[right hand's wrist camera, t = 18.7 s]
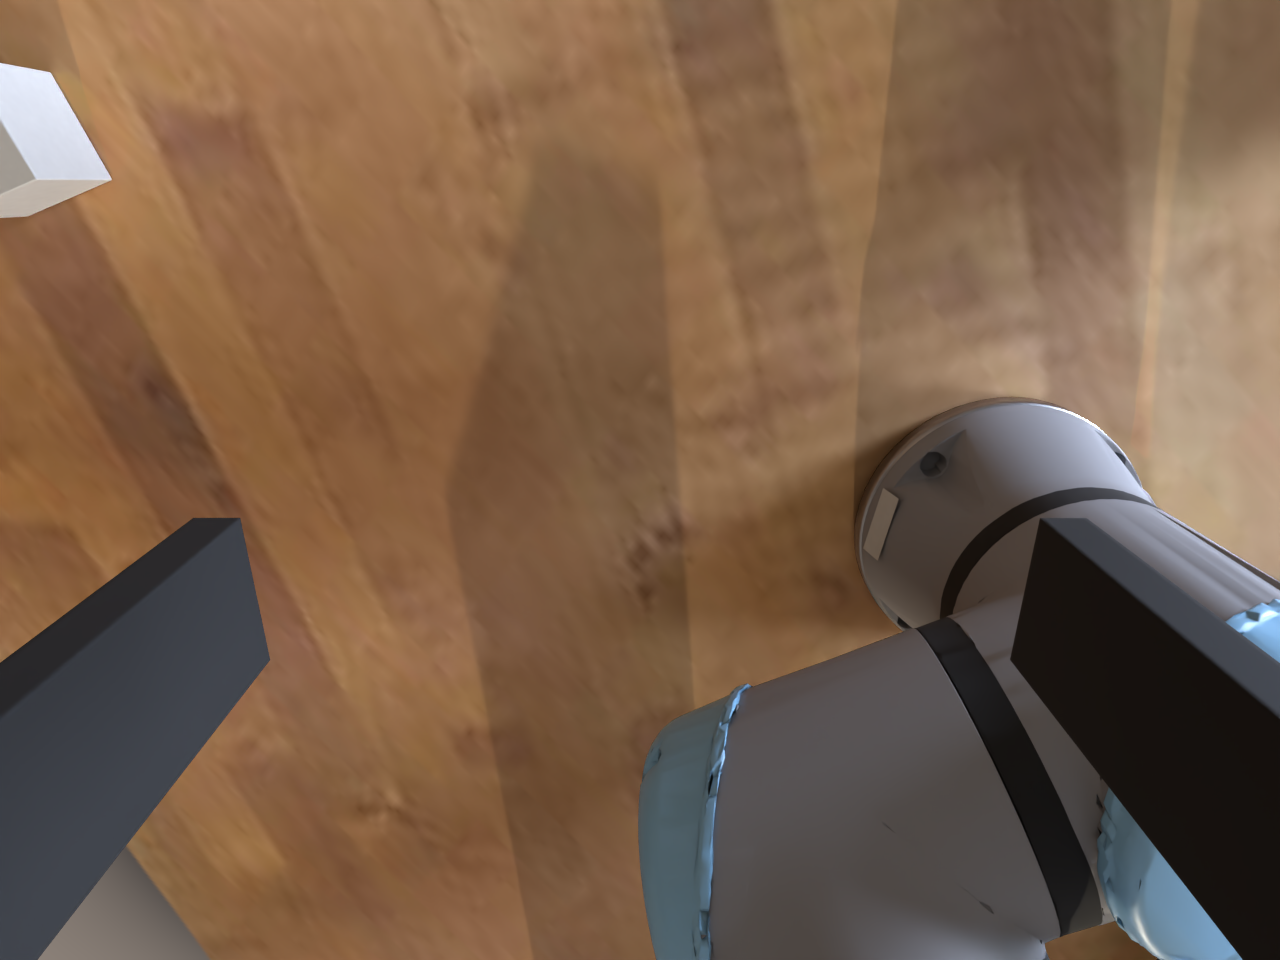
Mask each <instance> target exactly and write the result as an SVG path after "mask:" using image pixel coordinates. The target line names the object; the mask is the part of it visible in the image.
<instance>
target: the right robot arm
mask: <svg viewBox="0 0 1280 960" xmlns="http://www.w3.org/2000/svg"><path fill="white" fill-rule="evenodd" d="M854 542H855V553H856V559H857V563H858V566H859V570H860V573H861V575H862V577H863V580H864V582H865V584H866V585H867V587H868V589H869V591H870V593H871V594H872V596H873V598H874V600H875V601H876V603H877V604H878V605H879V607H880V608H881V610H882V611H883V612H884V613H885V614H886V615H887V616H888V617H889V618H890V620H891V621H892V622H893V623H894V624H895V625H896V626H897V627H898V628H900V629H901V630H902V631H903V632H901V633H899V634H896V635H893V636H891V637H888V638H885V639H883V640H880V641H878V642H875V643H872V644H870V645H867V646H864V647H862V648H859V649H856V650H854V651H851V652H848V653H846V654H843V655H840V656H838V657H835V658H833V659H830V660H827V661H824V662H821V663H819V664H816V665H813V666H810V667H807V668H804V669H802V670H799V671H796V672H793V673H790V674H788V675H785V676H782V677H779V678H776V679H774V680H771V681H768V682H765V683H762V684H759V685H757V686H754V687H753V686H751V685H749V684H744V685H741V686H738V687H736V688H735V689H734V690H733V691H732V692H731V693H730V695H729V696H726V697H724V698H722V699H719V700H717V701H715V702H712V703H710V704H708V705H705V706H703V707H701V708H698V709H696V710H694V711H691V712H689V713H687V714H684V715H682V716H680V717H678V718H676V719H674V720H673V721H671V722H670V723H669V724H667V725H666V726H665V727H664V728H663V729H662V730H661V731H660V733H659V734H658V735H657V737H656V739H655V740H654V742H653V743H652V745H651V747H650V750H649V753H648V755H647V758H646V761H645V765H644V771H643V778H642V783H641V786H640V795H639V814H638V838H639V856H640V868H641V878H642V886H643V894H644V901H645V907H646V913H647V919H648V924H649V929H650V934H651V939H652V944H653V948H654V952H655V956H656V960H1050V959H1049V957H1048V955H1047V953H1046V949H1045V943H1046V942H1048V941H1051V940H1053V939H1056V938H1058V937H1062V936H1063V935H1067V934H1070V933H1073V932H1077V931H1080V930H1084V929H1087V928H1091V927H1094V926H1097V925H1099V926H1100V925H1103V924H1106V923H1109V922H1113V921H1116V923H1117V924H1118V926H1119V927H1120V928H1121V929H1123V930H1124V931H1125V932H1127V934H1128V936H1129V937H1130V939H1131V940H1133V941H1135V942H1137V943H1139V944H1140V946H1143V947H1144V948H1145V949H1146V950H1148V951H1149V952H1150V953H1151V954H1152V955H1154V956H1155V957H1157V958H1158V959H1160V960H1280V582H1279V581H1277V580H1276V579H1274V578H1272V577H1271V576H1269V575H1267V574H1266V573H1264V572H1262V571H1261V570H1259V569H1257V568H1256V567H1254V566H1252V565H1251V564H1249V563H1248V562H1246V561H1244V560H1243V559H1241V558H1239V557H1238V556H1236V555H1234V554H1233V553H1231V552H1230V551H1228V550H1226V549H1225V548H1223V547H1221V546H1220V545H1218V544H1217V543H1215V542H1213V541H1212V540H1210V539H1208V538H1207V537H1205V536H1204V535H1202V534H1200V533H1199V532H1197V531H1196V530H1194V529H1192V528H1191V527H1189V526H1187V525H1186V524H1184V523H1183V522H1181V521H1179V520H1178V519H1176V518H1174V517H1173V516H1171V515H1169V514H1167V513H1166V512H1164V511H1163V510H1161V509H1159V508H1158V507H1156V505H1155V503H1154V502H1153V500H1152V498H1151V497H1150V496H1149V494H1148V493H1147V492H1146V491H1145V490H1143V489H1142V486H1141V483H1140V480H1139V478H1138V476H1137V473H1136V471H1135V469H1134V468H1133V466H1132V464H1131V462H1130V461H1129V459H1128V458H1127V456H1126V455H1125V453H1124V452H1123V451H1122V450H1121V449H1120V447H1119V446H1118V445H1117V444H1116V443H1115V442H1114V441H1113V440H1112V439H1111V438H1110V437H1108V436H1107V435H1106V434H1105V433H1104V432H1103V431H1102V430H1100V429H1099V428H1098V427H1097V426H1095V425H1094V424H1092V423H1091V422H1089V421H1088V420H1086V419H1084V418H1082V417H1080V416H1079V415H1077V414H1075V413H1073V412H1071V411H1069V410H1067V409H1065V408H1063V407H1060V406H1058V405H1055V404H1052V403H1049V402H1045V401H1041V400H1036V399H1030V398H1019V397H1003V398H992V399H985V400H980V401H976V402H971V403H968V404H965V405H961V406H958V407H955V408H953V409H951V410H948V411H946V412H944V413H941V414H940V415H938V416H936V417H934V418H932V419H930V420H928V421H927V422H925V423H924V424H922V425H921V426H919V427H918V428H916V429H915V430H914V431H912V432H911V433H910V434H908V435H907V436H906V437H905V438H904V439H903V440H901V441H900V442H899V443H898V444H897V445H896V446H895V447H894V448H893V449H892V450H891V451H890V453H889V454H888V455H887V456H886V457H885V458H884V460H883V461H882V462H881V464H880V465H879V466H878V468H877V469H876V471H875V472H874V474H873V476H872V477H871V479H870V481H869V483H868V485H867V487H866V489H865V491H864V494H863V496H862V499H861V501H860V505H859V508H858V512H857V517H856V523H855V534H854ZM269 661H270V657H269V652H268V648H267V643H266V638H265V633H264V629H263V624H262V619H261V615H260V610H259V605H258V600H257V596H256V591H255V586H254V581H253V577H252V572H251V567H250V563H249V558H248V553H247V548H246V544H245V539H244V534H243V529H242V525H241V520H240V518H193V519H191V520H190V521H189V522H187V523H186V524H185V525H183V526H182V527H181V528H179V529H178V530H177V531H175V532H174V533H173V534H171V535H170V536H169V537H167V538H166V539H165V540H163V541H162V542H161V543H159V544H158V545H157V546H155V547H154V548H153V549H151V550H150V551H149V552H147V553H146V554H145V555H143V556H142V557H141V558H139V559H138V560H137V561H135V562H134V563H133V564H131V565H130V566H129V567H127V568H126V569H125V570H123V571H122V572H121V573H119V574H118V575H117V576H115V577H114V578H113V579H111V580H110V581H109V582H107V583H106V584H105V585H103V586H102V587H101V588H99V589H98V590H97V591H95V592H94V593H93V594H91V595H90V596H89V597H87V598H86V599H85V600H83V601H82V602H81V603H79V604H78V605H77V606H75V607H74V608H73V609H71V610H70V611H69V612H67V613H66V614H65V615H63V616H62V617H61V618H59V619H58V620H57V621H55V622H54V623H53V624H51V625H50V626H49V627H47V628H46V629H45V630H43V631H42V632H41V633H39V634H38V635H37V636H35V637H34V638H33V639H31V640H30V641H29V642H27V643H26V644H25V645H23V646H22V647H21V648H19V649H18V650H17V651H15V652H14V653H13V654H11V655H10V656H9V657H7V658H6V659H5V660H3V661H2V662H1V663H0V960H38V958H39V957H40V956H41V954H42V953H43V952H44V951H45V949H46V948H47V947H48V945H49V944H50V943H51V942H52V940H53V939H54V938H55V936H56V935H57V934H58V933H59V931H60V930H61V929H62V927H63V926H64V925H65V923H66V922H67V921H68V920H69V918H70V917H71V916H72V914H73V913H74V912H75V911H76V909H77V908H78V907H79V905H80V904H81V903H82V902H83V900H84V899H85V898H86V896H87V895H88V894H89V893H90V891H91V890H92V889H93V887H94V886H95V885H96V884H97V882H98V881H99V880H100V878H101V877H102V876H103V874H104V873H105V872H106V871H107V869H108V868H109V867H110V865H111V864H112V863H113V862H114V860H115V859H116V858H117V856H118V855H119V854H120V853H121V851H122V850H123V849H124V847H125V846H126V845H127V844H128V842H129V841H130V840H131V838H132V837H133V836H134V835H135V833H136V832H137V831H138V829H139V828H140V827H141V826H142V824H143V823H144V822H145V820H146V819H147V818H148V817H149V815H150V814H151V813H152V811H153V810H154V809H155V808H156V806H157V805H158V804H159V802H160V801H161V800H162V798H163V797H164V796H165V795H166V793H167V792H168V791H169V789H170V788H171V787H172V786H173V784H174V783H175V782H176V780H177V779H178V778H179V777H180V775H181V774H182V773H183V771H184V770H185V769H186V768H187V766H188V765H189V764H190V762H191V761H192V760H193V759H194V757H195V756H196V755H197V753H198V752H199V751H200V750H201V748H202V747H203V746H204V744H205V743H206V742H207V740H208V739H209V738H210V737H211V735H212V734H213V733H214V731H215V730H216V729H217V728H218V726H219V725H220V724H221V722H222V721H223V720H224V719H225V717H226V716H227V715H228V713H229V712H230V711H231V710H232V708H233V707H234V706H235V704H236V703H237V702H238V701H239V699H240V698H241V697H242V695H243V694H244V693H245V692H246V690H247V689H248V688H249V686H250V685H251V684H252V682H253V681H254V680H255V679H256V677H257V676H258V675H259V673H260V672H261V671H262V670H263V668H264V667H265V666H266V664H267V663H268V662H269Z"/></svg>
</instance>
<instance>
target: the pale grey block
mask: <svg viewBox="0 0 1280 960" xmlns="http://www.w3.org/2000/svg"><path fill="white" fill-rule="evenodd" d="M111 180H112V178H111V177H110V175H109V173H108V171H107V170H106V168H105V166H104V165H103V163H102V161H101V159H100V158H99V156H98V154H97V152H96V151H95V149H94V147H93V145H92V144H91V142H90V140H89V138H88V137H87V135H86V133H85V131H84V130H83V128H82V126H81V125H80V123H79V121H78V119H77V118H76V116H75V114H74V112H73V111H72V109H71V107H70V105H69V104H68V102H67V100H66V98H65V97H64V95H63V93H62V91H61V90H60V88H59V86H58V85H57V83H56V81H55V79H54V78H53V76H52V74H51V73H50V72H46V71H41V70H36V69H30V68H25V67H20V66H14V65H9V64H4V63H0V218H7V217H26V216H30V215H32V214H34V213H37V212H39V211H41V210H44V209H46V208H48V207H51V206H53V205H55V204H57V203H60V202H62V201H64V200H67V199H69V198H71V197H74V196H76V195H78V194H81V193H83V192H85V191H88V190H90V189H92V188H95V187H97V186H99V185H102V184H104V183H106V182H108V181H111Z"/></svg>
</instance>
